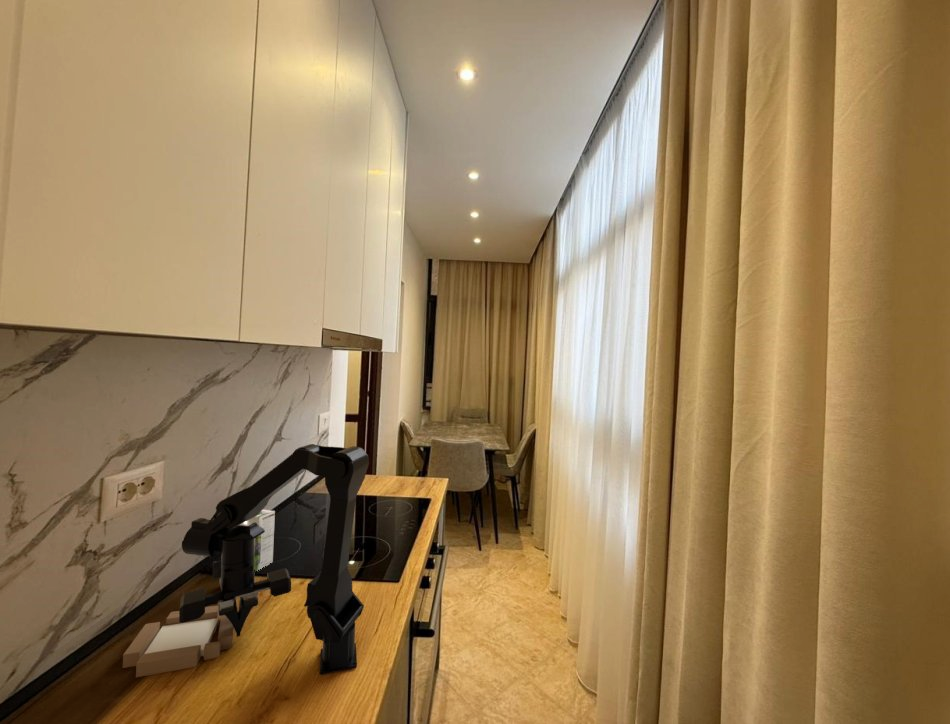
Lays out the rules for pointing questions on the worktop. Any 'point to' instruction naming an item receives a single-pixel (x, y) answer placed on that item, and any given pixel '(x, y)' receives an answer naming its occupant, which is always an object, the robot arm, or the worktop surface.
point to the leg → (225, 633)
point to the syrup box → (264, 539)
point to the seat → (173, 644)
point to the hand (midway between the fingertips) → (238, 635)
